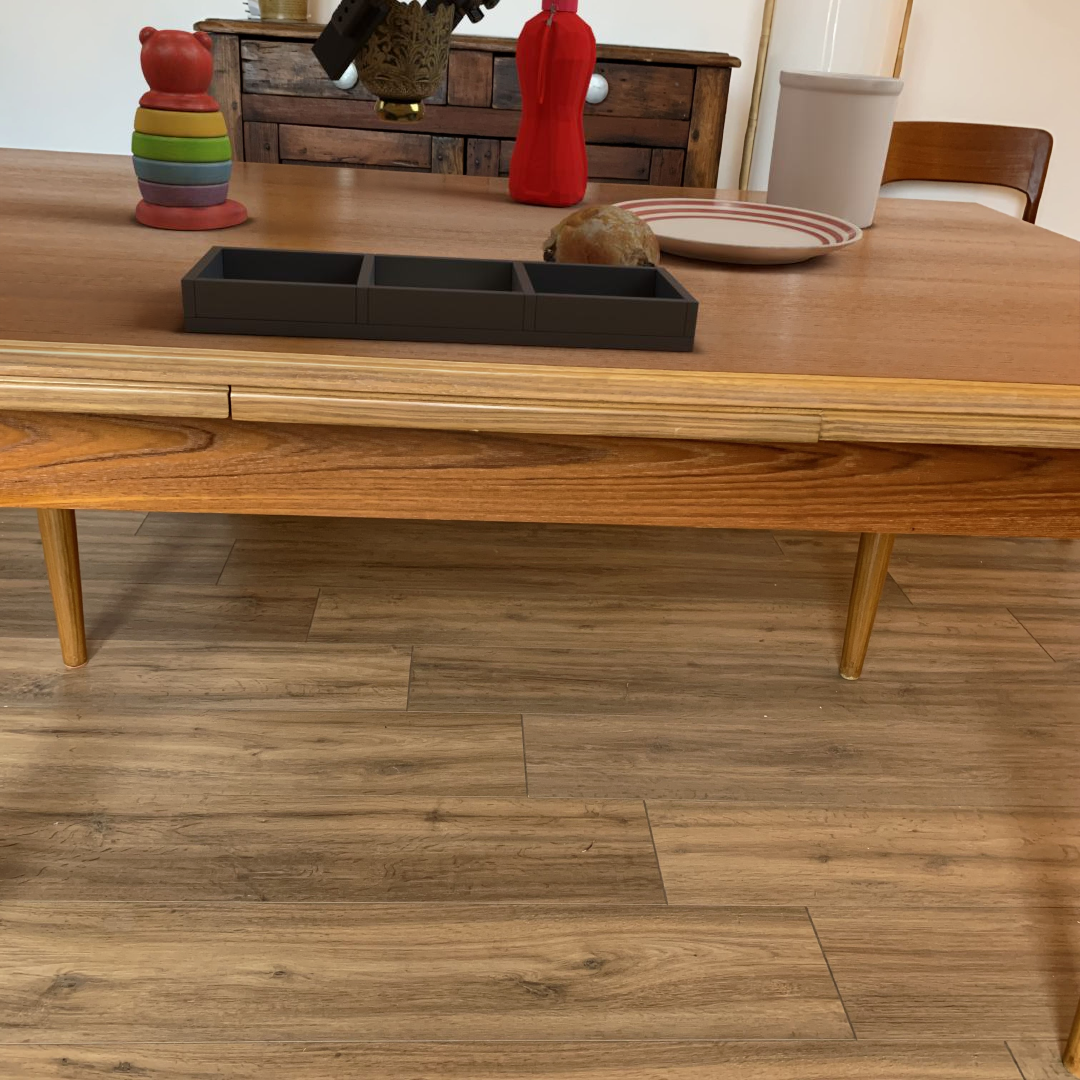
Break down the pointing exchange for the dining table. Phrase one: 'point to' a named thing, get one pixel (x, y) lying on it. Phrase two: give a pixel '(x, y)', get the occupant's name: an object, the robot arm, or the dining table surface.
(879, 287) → the dining table surface
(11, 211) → the dining table surface
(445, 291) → the compartment tray
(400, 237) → the dining table surface
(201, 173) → the stacking bear
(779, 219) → the dinner plate
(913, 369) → the dining table surface
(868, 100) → the utensil holder
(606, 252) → the bread roll
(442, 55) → the cup
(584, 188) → the water bottle
